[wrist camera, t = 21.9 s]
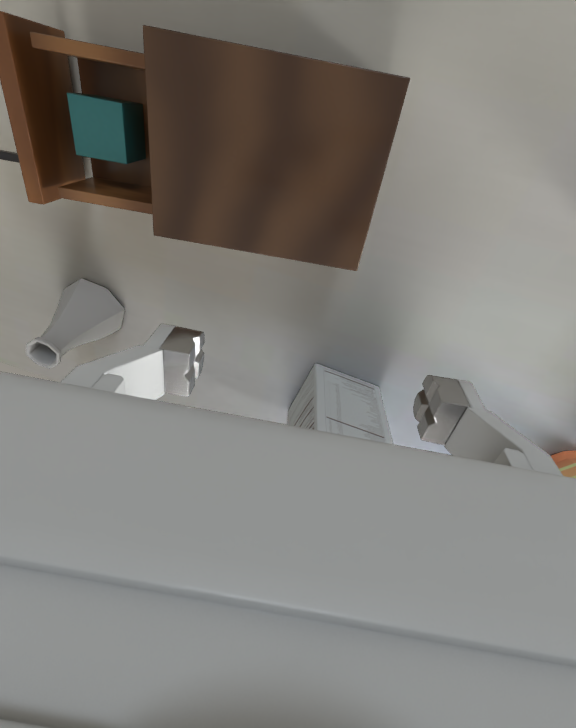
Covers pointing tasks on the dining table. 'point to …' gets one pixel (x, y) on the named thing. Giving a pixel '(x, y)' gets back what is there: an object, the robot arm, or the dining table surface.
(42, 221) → the dining table surface
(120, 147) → the block
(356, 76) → the cabinet
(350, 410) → the supplement box
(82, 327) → the flask
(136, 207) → the drawer
